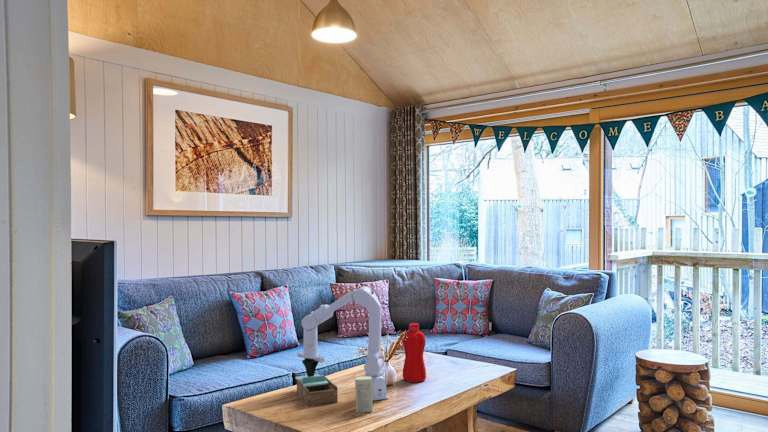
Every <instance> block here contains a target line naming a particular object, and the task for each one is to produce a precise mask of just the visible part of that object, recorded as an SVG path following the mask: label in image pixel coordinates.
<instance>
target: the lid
mask: <svg viewBox="0 0 768 432" xmlns="http://www.w3.org/2000/svg"><path fill="white" fill-rule="evenodd" d="M325 377H326V375H324V374H320V373H316V374H315V373H314V376H312V377H308V376H307V374H306V375H299V376H298V375H297V376H295V380H296V381H297V380H299V381H300V382H301V383H302V384H303V385H304V386H305V387H311V386H319V385H326V384H329V382H328V381H326V380H325Z"/></svg>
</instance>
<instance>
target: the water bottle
mask: <svg viewBox="0 0 768 432" xmlns="http://www.w3.org/2000/svg"><path fill="white" fill-rule="evenodd" d="M404 334H405V337H404V338H405V339H407V340H406V341H405V340H404V339H403V338H402V343H401V347H403V350H404V353H402V355H405V356H404V357H405V358H404V363H403V368H402V378H403V380H405V381H407V382H408V383H419V382H423V381H425V380H426V379H427V370H426V369H427V368H426V364H425V361H424V351H425V346H426V341H427V340H426V335H425V334H424V332H422V331H420V323H417V322H411V323H409V324H408V330H407V331H405V332H404ZM406 335H407V337H408V338H406Z"/></svg>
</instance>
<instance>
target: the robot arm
mask: <svg viewBox="0 0 768 432" xmlns="http://www.w3.org/2000/svg"><path fill="white" fill-rule="evenodd" d="M354 303H356V304H357V305H359V306H362V307H363V308H365V309H366V310H367V311H368V343H367V344H368V346H367V348H368V349H367V350H368V351H367V353H366V354H367V355H366V361H365V364H364V366H363V368H364V371H365V372H364V373H365V375H364V377H365V376H371V377H372V402H373V401H381V400H388V399H389V396H388V395H387V393H388V391H387V381H386V380H385V378H384V370H383V368H384V366H385V360H384V358H383V353H382V349H381V347H382V346H381V345H382V310H383V309H382V303H381V302H380V300H379V299H378V296H377V295H376V292H375V290H373V288H371V287H370V286H369V285H368V286H367V285H364V286H361V287H359V288H356V289H355V290H352V291H350V292H347V293H346V294H345V295H342V296H341V297H340V298H339V299H337V300H335V301H334V302H332V303H331V304H327V303H326V304H321V305H319V308H317V309H316V310H313V311H310V314H308V315H305V316H304V317H303V318H302V319H301V327H302V328H303V351H298V352H297V353H296V354H297V358H302V362H301V363H302V364H303V366H304V368H305V371H306V375H307V376H308V377H312V376H314V375H315V372H316V369H317V366H318V364H319V363H324V362H325V356H322V355H321V354H320V353H319V351H318V347H319V345H318V343H319V342H318V326H319V325H321V324H322V323H324V322H325V321H327V320H329V319H330V318H333V316H334V312H335V311H337V310H338V309H340V308H342V307H344V306H345V305H347V304H354Z"/></svg>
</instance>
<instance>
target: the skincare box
mask: <svg viewBox="0 0 768 432" xmlns="http://www.w3.org/2000/svg"><path fill="white" fill-rule="evenodd" d="M354 381H355V382H354V383H355V385H354V388H355V411H356V413H369V412H371V413H372V412H373V410H374V406H373V401H372V377H371V376H365V375H364V376H356V377H355V379H354Z"/></svg>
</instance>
